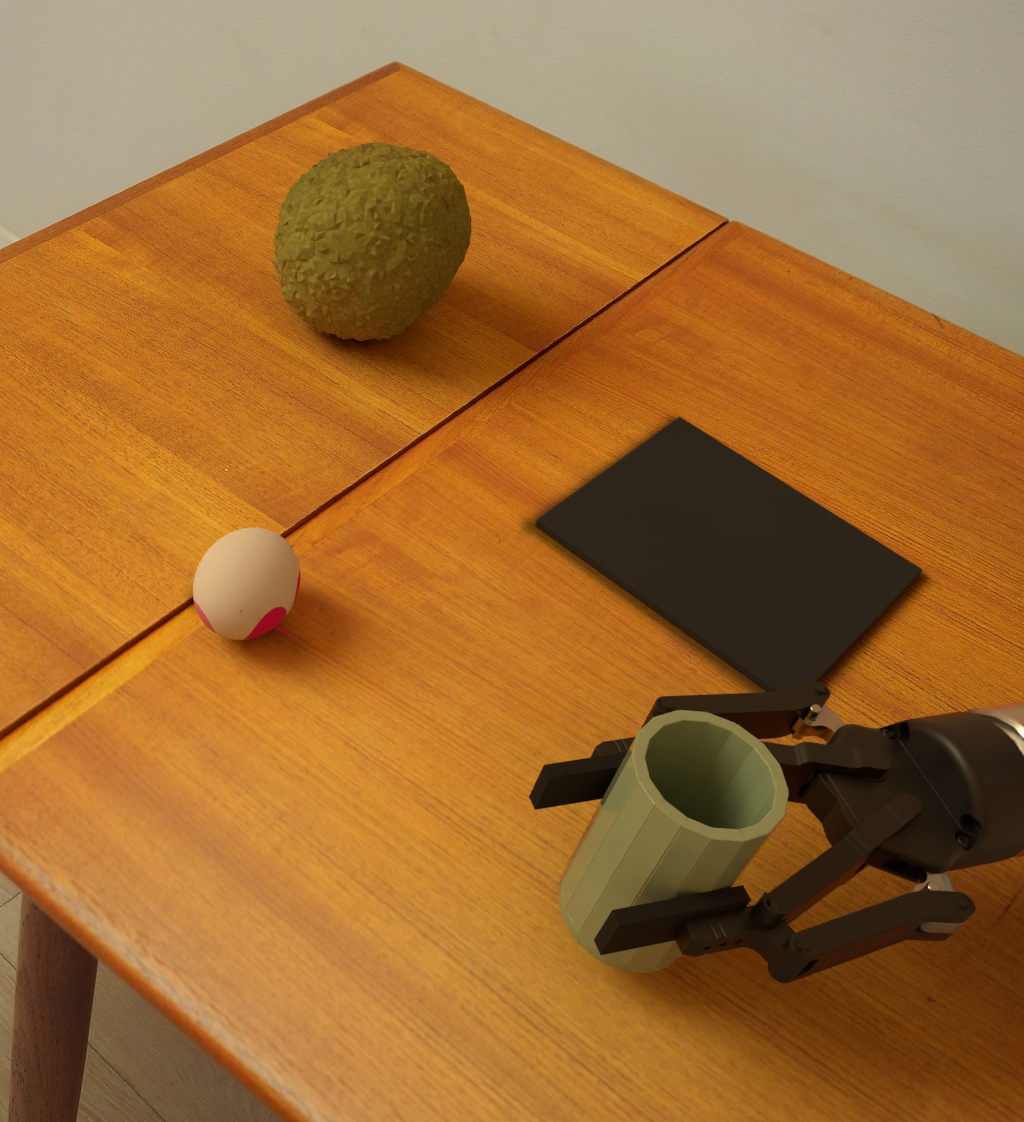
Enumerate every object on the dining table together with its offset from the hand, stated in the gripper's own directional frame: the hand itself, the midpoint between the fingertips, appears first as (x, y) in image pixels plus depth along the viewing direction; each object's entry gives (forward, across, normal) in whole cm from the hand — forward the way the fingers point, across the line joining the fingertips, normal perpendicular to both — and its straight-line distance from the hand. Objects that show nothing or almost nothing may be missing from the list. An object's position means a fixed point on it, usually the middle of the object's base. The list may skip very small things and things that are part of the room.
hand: (572, 856), depth 58 cm
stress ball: (+8, +24, -9) cm, 27 cm away
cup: (-5, 0, -6) cm, 8 cm away
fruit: (-8, +54, -9) cm, 55 cm away
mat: (-25, +25, -9) cm, 36 cm away
